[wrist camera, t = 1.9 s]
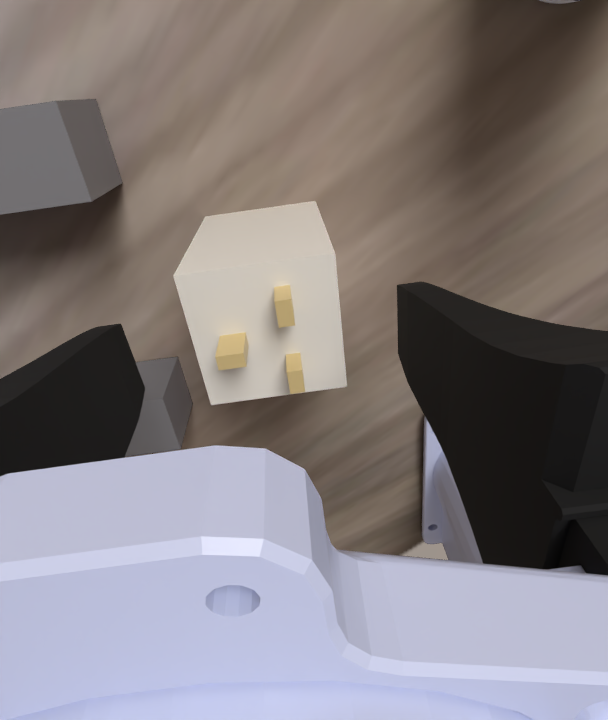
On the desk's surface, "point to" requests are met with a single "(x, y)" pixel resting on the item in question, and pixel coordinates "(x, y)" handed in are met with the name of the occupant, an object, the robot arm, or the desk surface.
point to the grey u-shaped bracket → (79, 185)
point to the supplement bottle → (559, 1)
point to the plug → (263, 303)
